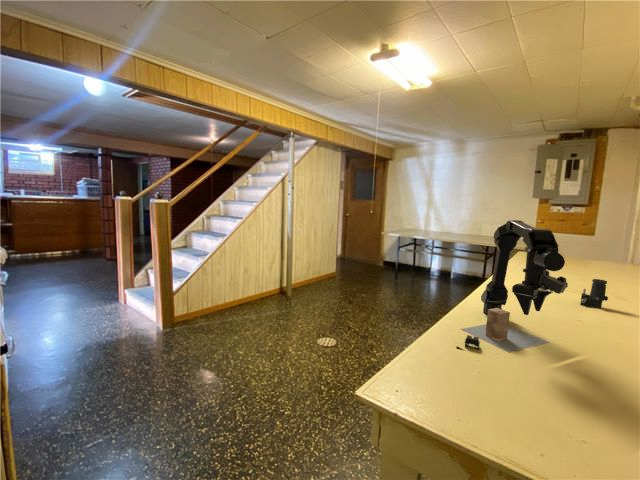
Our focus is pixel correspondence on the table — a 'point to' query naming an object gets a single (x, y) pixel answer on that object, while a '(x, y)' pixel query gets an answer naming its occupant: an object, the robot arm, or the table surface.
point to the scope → (595, 294)
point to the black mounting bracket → (471, 341)
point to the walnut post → (497, 324)
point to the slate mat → (514, 338)
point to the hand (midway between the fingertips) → (532, 312)
